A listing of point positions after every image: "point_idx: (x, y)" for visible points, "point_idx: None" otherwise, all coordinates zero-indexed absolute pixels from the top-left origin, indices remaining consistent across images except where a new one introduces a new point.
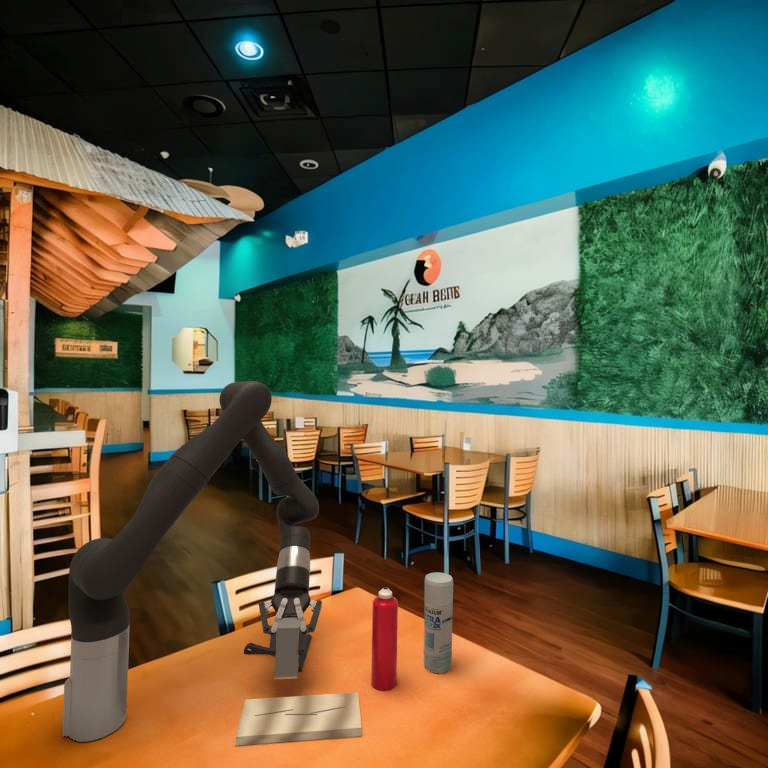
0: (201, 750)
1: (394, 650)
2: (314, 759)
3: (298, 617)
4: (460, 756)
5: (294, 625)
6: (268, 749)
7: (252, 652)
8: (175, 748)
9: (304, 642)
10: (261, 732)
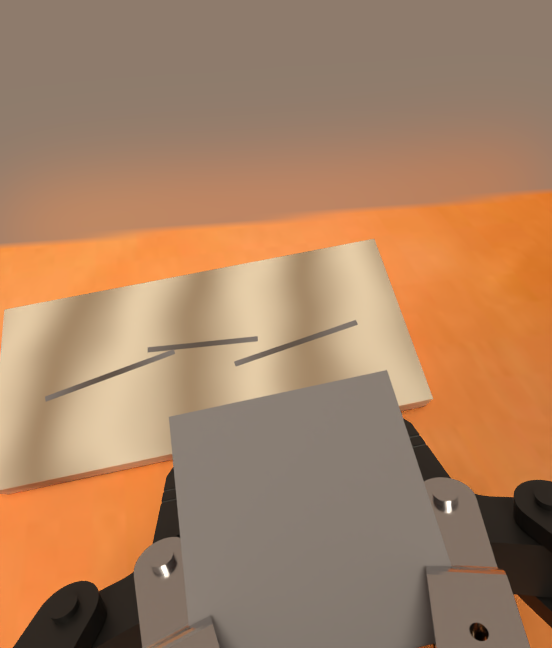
0: (451, 231)
1: None
2: (150, 237)
3: (205, 633)
4: None
5: (225, 456)
6: (276, 252)
7: None
8: (525, 230)
9: (169, 496)
10: (306, 260)
